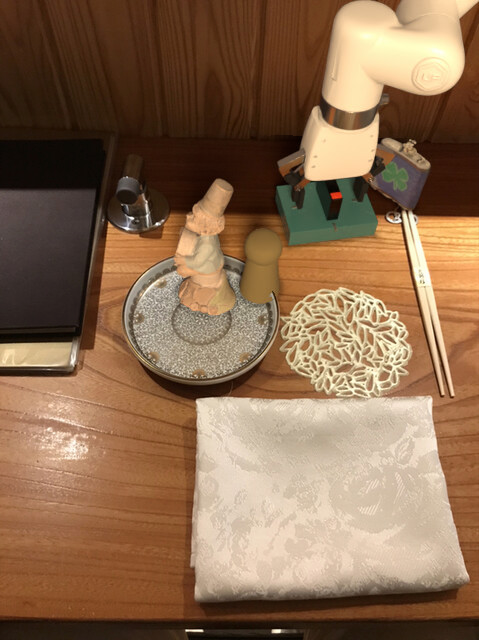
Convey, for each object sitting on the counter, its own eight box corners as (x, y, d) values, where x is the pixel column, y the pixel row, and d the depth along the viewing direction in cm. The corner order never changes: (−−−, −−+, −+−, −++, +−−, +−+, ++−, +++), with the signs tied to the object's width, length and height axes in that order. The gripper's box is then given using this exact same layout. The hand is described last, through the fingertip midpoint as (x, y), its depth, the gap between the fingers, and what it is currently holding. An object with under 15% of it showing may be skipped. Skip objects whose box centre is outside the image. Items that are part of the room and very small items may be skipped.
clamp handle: (315, 188, 90) (319, 166, 86) (326, 187, 91) (331, 164, 87) (326, 220, 87) (331, 199, 83) (337, 219, 87) (343, 197, 83)
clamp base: (355, 187, 95) (359, 173, 92) (375, 238, 89) (379, 224, 86) (274, 196, 93) (275, 182, 91) (289, 248, 88) (291, 235, 85)
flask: (365, 183, 95) (380, 132, 86) (376, 175, 97) (392, 123, 88) (409, 213, 92) (430, 163, 83) (419, 204, 93) (441, 154, 84)
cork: (233, 295, 82) (234, 247, 73) (247, 265, 86) (250, 216, 76) (271, 309, 81) (278, 262, 72) (285, 278, 84) (293, 229, 75)
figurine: (238, 272, 85) (241, 173, 68) (234, 320, 80) (237, 225, 63) (179, 269, 85) (168, 168, 68) (172, 316, 80) (158, 220, 63)
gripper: (402, 82, 76) (373, 176, 91) (277, 93, 74) (268, 188, 89) (421, 118, 72) (388, 210, 87) (290, 131, 70) (278, 223, 85)
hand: (327, 199), depth 88 cm, fingers open, 9 cm apart
